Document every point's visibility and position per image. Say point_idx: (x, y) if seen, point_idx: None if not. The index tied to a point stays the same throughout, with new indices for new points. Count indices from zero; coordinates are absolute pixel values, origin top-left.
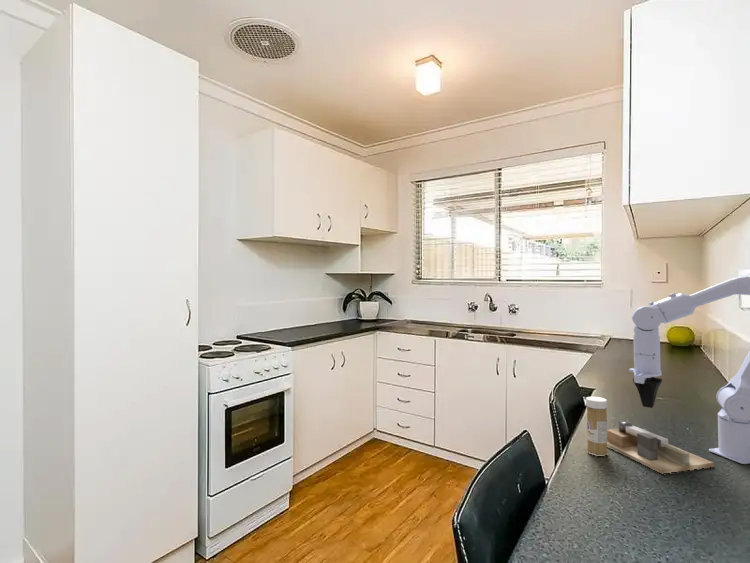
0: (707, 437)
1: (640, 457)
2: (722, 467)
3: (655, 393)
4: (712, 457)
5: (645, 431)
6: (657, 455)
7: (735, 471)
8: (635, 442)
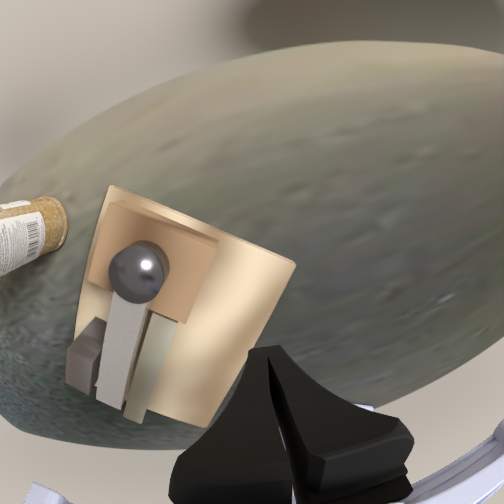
0: (407, 352)
1: (86, 326)
2: None
3: (286, 452)
4: None
5: (120, 356)
6: None
7: None
8: None
